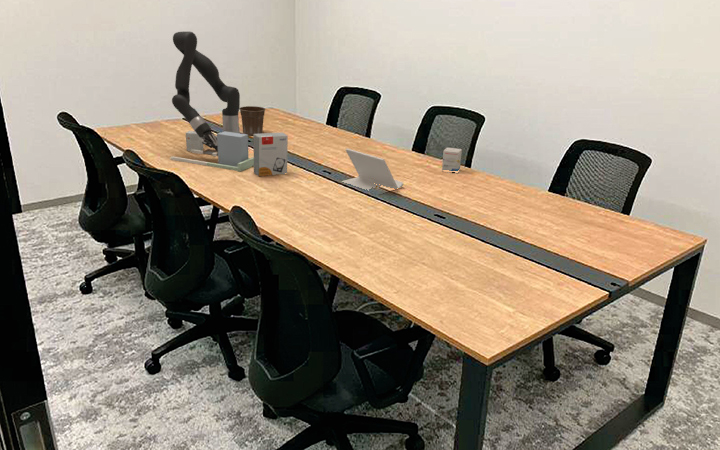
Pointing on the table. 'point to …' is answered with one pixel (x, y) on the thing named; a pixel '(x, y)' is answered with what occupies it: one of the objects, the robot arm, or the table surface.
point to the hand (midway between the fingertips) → (221, 152)
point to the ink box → (451, 159)
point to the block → (232, 148)
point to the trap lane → (241, 165)
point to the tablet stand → (370, 171)
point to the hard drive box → (270, 153)
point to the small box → (193, 141)
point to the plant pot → (252, 119)
